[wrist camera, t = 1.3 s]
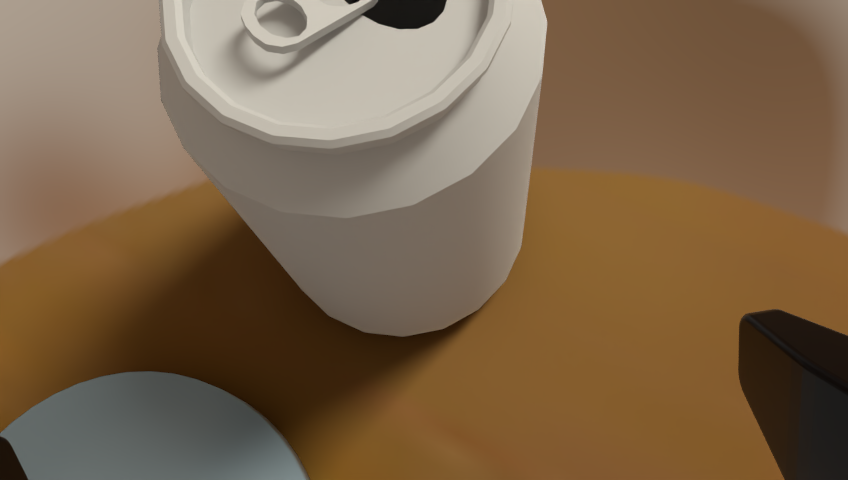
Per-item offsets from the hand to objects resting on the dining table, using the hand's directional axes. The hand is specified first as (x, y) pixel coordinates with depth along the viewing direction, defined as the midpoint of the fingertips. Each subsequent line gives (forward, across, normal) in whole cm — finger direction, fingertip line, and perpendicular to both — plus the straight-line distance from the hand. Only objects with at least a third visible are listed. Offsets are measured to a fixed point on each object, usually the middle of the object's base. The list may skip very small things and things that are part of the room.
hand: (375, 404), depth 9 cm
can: (+15, 0, +4) cm, 15 cm away
